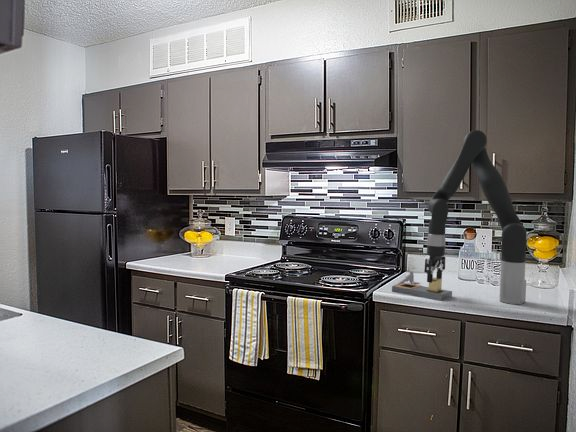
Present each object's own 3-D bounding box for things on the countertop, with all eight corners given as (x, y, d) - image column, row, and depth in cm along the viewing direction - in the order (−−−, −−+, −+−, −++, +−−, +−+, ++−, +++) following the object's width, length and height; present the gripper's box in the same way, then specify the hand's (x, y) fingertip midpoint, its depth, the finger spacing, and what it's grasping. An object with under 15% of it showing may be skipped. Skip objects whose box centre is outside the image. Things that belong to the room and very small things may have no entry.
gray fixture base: (451, 296, 204) (452, 290, 204) (441, 300, 197) (441, 294, 197) (403, 288, 221) (403, 282, 221) (391, 291, 214) (392, 285, 214)
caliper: (411, 282, 236) (411, 270, 235) (413, 282, 235) (413, 270, 235) (391, 288, 220) (392, 275, 220) (394, 289, 220) (394, 276, 219)
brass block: (441, 296, 205) (441, 278, 204) (436, 298, 202) (437, 279, 201) (432, 295, 207) (433, 277, 207) (428, 296, 205) (428, 278, 204)
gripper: (436, 246, 196) (434, 284, 197) (451, 244, 206) (450, 280, 207) (420, 244, 201) (418, 281, 202) (435, 242, 211) (434, 277, 212)
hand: (434, 281), depth 205 cm, fingers open, 8 cm apart
